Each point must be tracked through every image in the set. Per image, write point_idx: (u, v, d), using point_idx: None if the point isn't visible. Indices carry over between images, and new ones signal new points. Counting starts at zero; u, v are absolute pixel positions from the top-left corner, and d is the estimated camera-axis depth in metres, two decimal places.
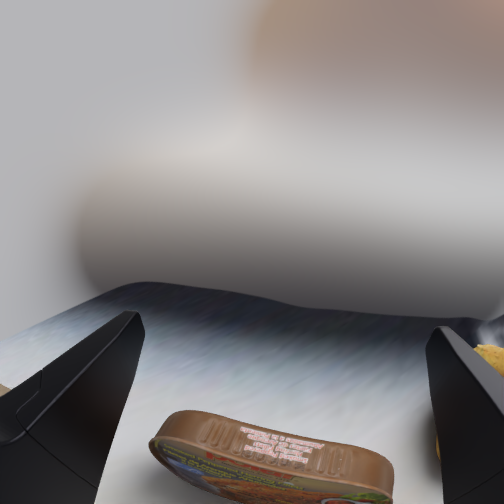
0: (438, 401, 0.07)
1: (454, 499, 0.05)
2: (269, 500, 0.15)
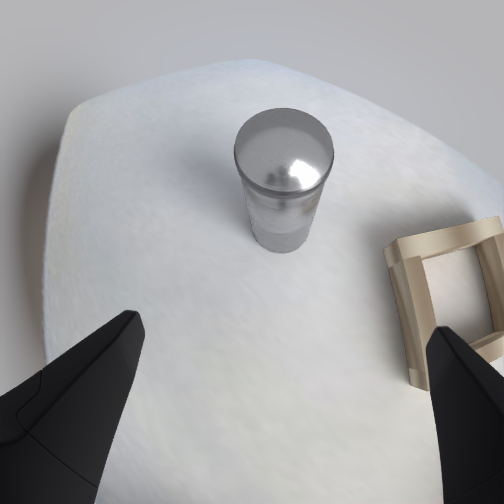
0: (438, 401, 0.07)
1: (454, 499, 0.05)
2: None
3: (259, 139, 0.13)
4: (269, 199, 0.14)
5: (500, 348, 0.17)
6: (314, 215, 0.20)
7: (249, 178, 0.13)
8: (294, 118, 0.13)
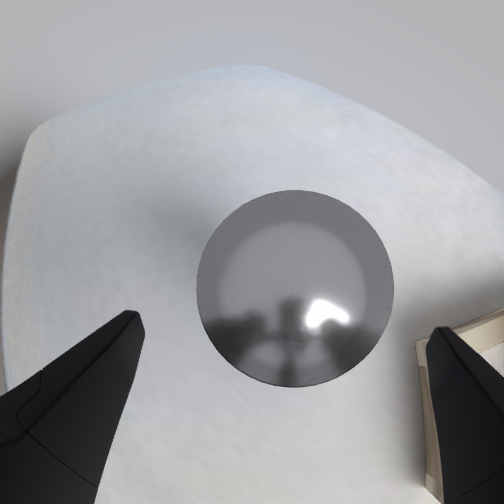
0: (438, 401, 0.07)
1: (454, 499, 0.05)
2: None
3: (246, 271, 0.07)
4: None
5: None
6: None
7: (226, 352, 0.07)
8: (320, 217, 0.07)
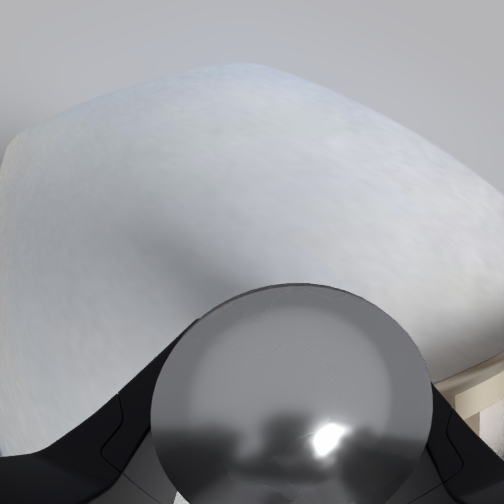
0: None
1: None
2: None
3: (220, 414, 0.04)
4: None
5: None
6: None
7: (199, 495, 0.04)
8: (337, 333, 0.04)
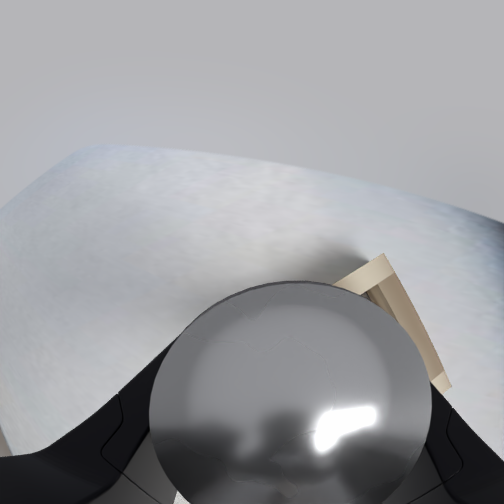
0: None
1: None
2: None
3: (218, 411, 0.04)
4: None
5: None
6: None
7: (197, 493, 0.04)
8: (335, 330, 0.04)
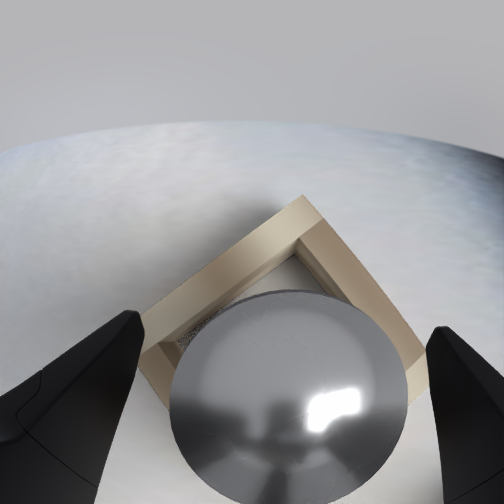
0: (438, 401, 0.07)
1: (454, 499, 0.05)
2: None
3: (228, 398, 0.05)
4: None
5: None
6: None
7: (208, 472, 0.05)
8: (325, 331, 0.05)
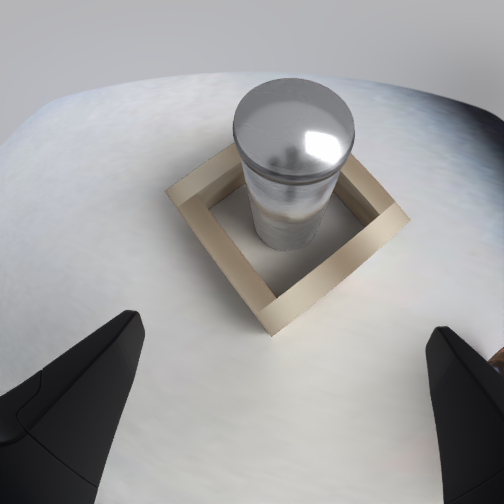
0: (438, 401, 0.07)
1: (454, 499, 0.05)
2: None
3: (264, 112, 0.10)
4: (275, 185, 0.11)
5: (366, 245, 0.17)
6: None
7: (252, 159, 0.10)
8: (306, 89, 0.11)
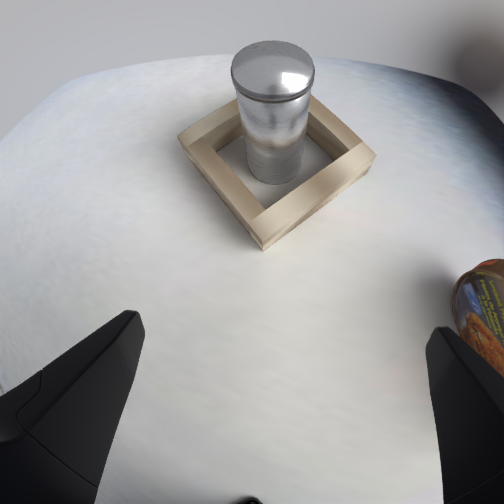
0: (438, 401, 0.07)
1: (454, 499, 0.05)
2: None
3: (252, 60, 0.14)
4: (260, 106, 0.15)
5: (338, 171, 0.21)
6: (304, 141, 0.21)
7: (243, 86, 0.14)
8: (281, 46, 0.15)
